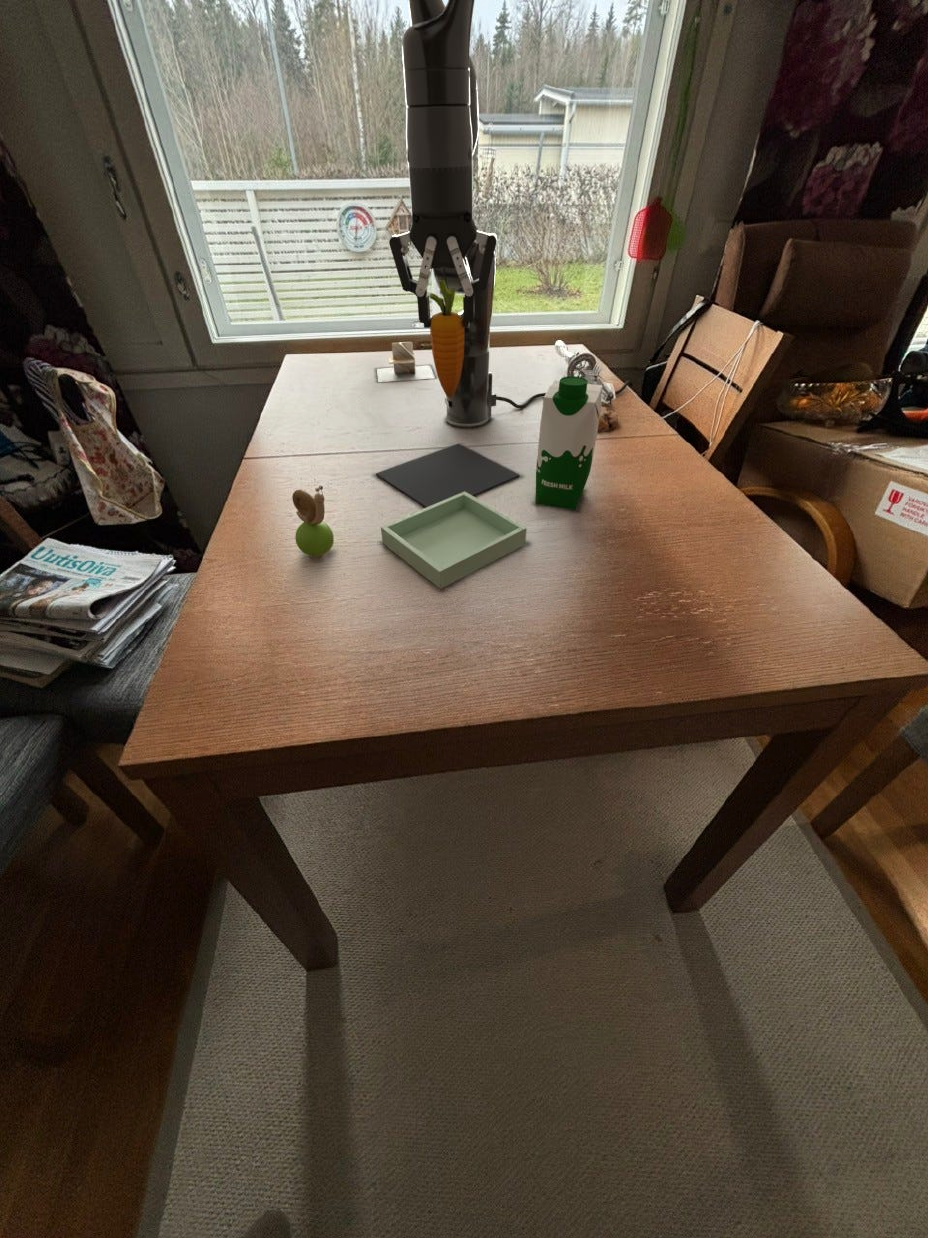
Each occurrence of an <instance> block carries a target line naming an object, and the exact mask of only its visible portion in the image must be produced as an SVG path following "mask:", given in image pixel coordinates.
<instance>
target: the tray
mask: <svg viewBox="0 0 928 1238" xmlns="http://www.w3.org/2000/svg"><path fill="white" fill-rule="evenodd" d="M527 530H528V528H527V527H526V526H525V525H523V524H521V523H520V522H518V521H516V520H514V519H512V518H511V517H509V516H508V515H505V514H504V513H502V512H501V511H499V510H497V509H496V508H494V507H492V506H490V505H488V504H487V503H485V502H484V501H482V500H480V499H479V498H477V497H476V496H474V497H473V496H472V495H470V494H468V493H467V492H462V493H460V494H457V495H455V496H453V497H450V498H448V499H446V500H443V501H441V502H438V503H436V504H434V505H431V506H429V507H427V508H425V507H424V508H422V509H420V510H418V511H415V512H412V513H410V514H408V515H406V516H402V517H401V518H398V519H396V520H393V521H391V522H389V523H386V524H384V525H382V526H380V532H381V533H380V534H381V538H382V544H383V545H384V546H385V547H387V548H388V549H389V550H391V551H392V552H393V553H394V554H396V555H397V556H398V557H400V558H401V560H403V561H405V563H407V564H408V565H410V566H411V567H412V568H413V569H415V570H416V571H417V572H418V573H419V574H421V575H422V576H423V577H424V578H426V579H427V580H428V581H430V582H431V583H432V584H433V585H435V586H436V587H437V588H438V589H440V590H441V589H443V588H445V587H447V586H449V585H451V584H453V583H454V582H456V581H459V580H460V579H462V578H464V577H466V576H468V575H469V574H472V573H473V572H476V571H478V570H480V569H481V568H484V567H485V566H487V565H489V564H491V563H492V562H495V561H497V560H498V559H500V558H502V557H504V556H506V555H508V554H510V553H512V552H514V551H515V550H517V549H520V548H521V547H523V546H525V545H526V540H527Z"/></svg>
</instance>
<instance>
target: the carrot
mask: <svg viewBox="0 0 928 1238" xmlns="http://www.w3.org/2000/svg"><path fill="white" fill-rule="evenodd" d="M439 285H440V288H441V290H440V291H441V294H442V297H443V298H442V297H439V296H438V295H437V294H435V293H429V299H430V300H432V301H434V302H435V303H436V305H437V306H438V307H439V309H440V311H441V312H437V313H435V314H433V315H432V316H430V327H429V330H430V331H429V334H430V343H431V344H430V345H431V353H432V358H433V363H434V368H435V371H436V375H437V379H438V382H439V383H440V386H441V388H442V390H443V392H444V395H445V397H446V396H447V397H448V398H451V397H452V396H453V395H454V393H455V391H456V388H457V386H458V383H459V380H460V377H461V371H462V365H463V358H464V321H463V319H462V318H461V316H460V315H459V314H458V313H459V312H454V311H452V309H453V305H454V301H455V295H456V294H455V289H454V288H453V287H450V290H447V287H446V284H445V282H444V281H440V282H439Z"/></svg>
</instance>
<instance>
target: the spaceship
mask: <svg viewBox="0 0 928 1238" xmlns="http://www.w3.org/2000/svg"><path fill="white" fill-rule="evenodd" d="M554 349H555V352H556V353H557V354H558V355H559V357H561V358H564V360H565V362H566V365H567V367H566V377H568V376H575V375H577V376H576V377H582V378H584V379H586V380H587V381H588V383H587V384H593V385H602V394H601V403H604V404H606V406H607V405H610V406H612V405H613V404H612V401H614V400H616V399H617V398H616V395H615V391H616V390H615V387H614V385H613V383H611V382H606V380H605V379H604V378H603V377H602V376H601V375H600V373H601V371H602V369H603V368H602V367H600V365H599V364H598V363H597V360H596V357H595V356H594V355H593V354H591V353H589V352H583V353H580V352H579V351H578V350H575V352H571V351H569V348H568V345H567V344H566V343H565V342H564V341H563V340H562V339H561V340H560V339H558V340H556V341H555V343H554ZM586 364H588V365H586ZM602 380H603V381H604V382H603V381H602Z"/></svg>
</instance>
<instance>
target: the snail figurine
mask: <svg viewBox="0 0 928 1238" xmlns="http://www.w3.org/2000/svg"><path fill="white" fill-rule="evenodd" d="M323 489H324V487H323V485H319V486H318V487H316V488H315V492H316V493H315V494H314V496H313V495H312V494H311V493H310V492H308V491H306V490H305V489H301V488H300V489H296V490H294V492H293V493H292V497H291V500H292V503H293V506H294V507H295V509H296V512H295V513H296V515H297V516H298V518H299V519H300V520H301V521H302V523H301V524H300V525H299V526H298V527H297V529H296V531H295V543H296V546H297V548H298V549H299V550H300V551H301V552H302V553H303V554H304V555H307V556H310V557H322V556H324V555H325V554H327V553H328V552H330V550H331V549H332V547H333V545H334V540H335V538H334V533H333V530H332V528H331V527H330V526H329V525H328V524H327V523H326V522H324V520H325V513H326V512H325V511H326V510H325V496H324V495H323ZM320 491H321V492H320Z"/></svg>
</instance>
